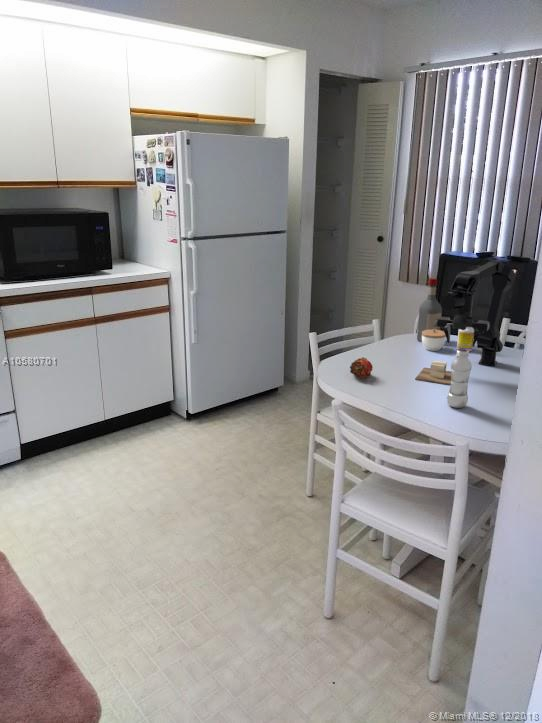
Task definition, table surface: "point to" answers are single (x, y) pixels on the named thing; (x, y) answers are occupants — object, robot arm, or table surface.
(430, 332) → the lidded jar
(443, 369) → the maple cube
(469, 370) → the plastic bottle
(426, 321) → the liquor
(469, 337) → the supplement bottle
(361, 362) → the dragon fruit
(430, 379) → the walnut board
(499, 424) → the table surface
